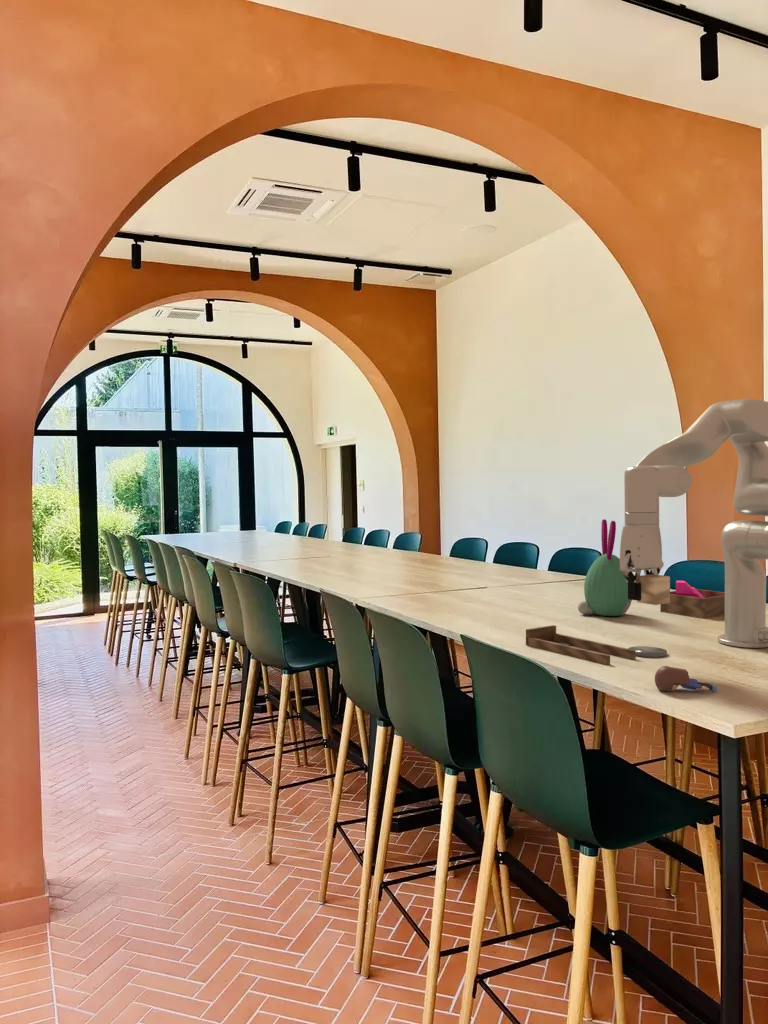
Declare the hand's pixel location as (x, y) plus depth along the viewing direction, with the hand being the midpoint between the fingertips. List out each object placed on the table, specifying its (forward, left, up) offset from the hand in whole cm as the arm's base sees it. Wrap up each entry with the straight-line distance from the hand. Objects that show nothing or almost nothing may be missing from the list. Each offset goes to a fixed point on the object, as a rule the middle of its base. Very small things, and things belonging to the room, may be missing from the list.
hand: (642, 597), depth 171 cm
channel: (+16, +4, -15) cm, 22 cm away
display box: (+33, -71, -15) cm, 79 cm away
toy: (+47, -43, -15) cm, 65 cm away
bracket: (+33, -71, -16) cm, 80 cm away
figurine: (-20, +13, -15) cm, 29 cm away
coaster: (+5, -8, -15) cm, 17 cm away
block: (-3, 0, -1) cm, 3 cm away
